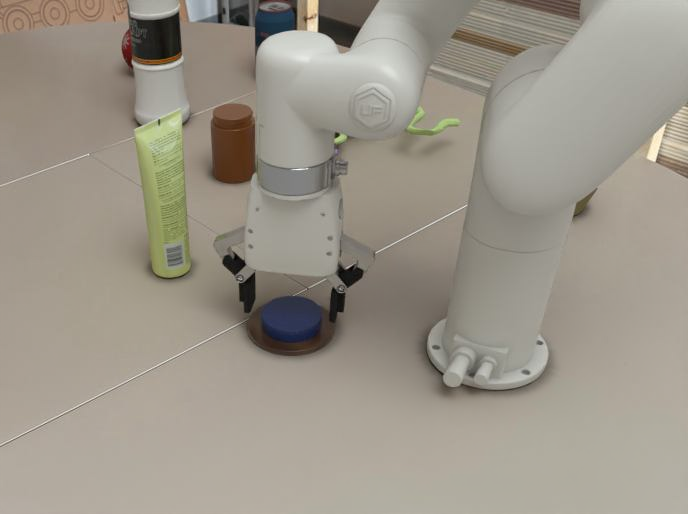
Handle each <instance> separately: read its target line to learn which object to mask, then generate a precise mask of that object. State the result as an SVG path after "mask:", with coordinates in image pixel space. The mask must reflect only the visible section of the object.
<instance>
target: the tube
mask: <svg viewBox="0 0 688 514" xmlns="http://www.w3.org/2000/svg"><path fill="white" fill-rule="evenodd" d="M183 132H184V131H183V124H182V113H181V108H179V109H177V110H175V111H173V112H171V113H169V114H167V115H165V116H163V117H161V118H159V119H156V120H154V121H152V122H150V123H148V124H145V125H143V126H142V125H140V126H139V127H136V128H134V129H133V137H134V143H135V149H136V155H137V161H138V168H139V176H140V181H141V182H140V183H141V189H142V196H143V204H144V212H145V213H144V214H145V219H146V227H147V236H148V244H149V253H150V262H151V269H152V271H153V273H154V274H155V275H156V276H158V277H161V278H167V279H170V278H178V277H181V276H183V275H185V274H186V273H188V272H189V271H190V269H191V266H192V265H191V263H192V262H191V251H190V250H191V249H190V239H189V237H190V236H189V222H188V208H187V207H188V206H187V193H186V192H187V190H186V175H185V174H186V173H185V157H184V155H185V154H184V134H183Z"/></svg>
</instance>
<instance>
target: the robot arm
mask: <svg viewBox="0 0 688 514" xmlns="http://www.w3.org/2000/svg"><path fill="white" fill-rule="evenodd" d="M480 1H481V0H378V1H377V2H376V4H375V6H374V8H373V10H372V11H371V12H370V13H369V15H368V17H367V19H366V20H365V22H364V23H363V25H362V26H361V27H360V30H359V31H358V33H357V35H356V36H355V38H354V40H353V42H352V44H351V46H350V48H349V50H348V51H346V52H343V53H341V52H340V51H339V48H338V46H337V43H336V42H335V40H334V39H332V38H331V36H330V37H329V36H328V35H327V34H324V33H321V32H318V31H314V30H313V31H312V30H305V29H303V30H302V29H299V30H298V29H297V30H296V29H294V31H285V32H281V33H278V34H274V35H272V36H270V37H268V38H267V39H266V40H264V41H263V42H262V44H261V45H260V47H259V48H258V51H257V55H256V71H255V140H256V173H254V174H253V176H252V178H251V179H250V184H249V190H248V195H247V200H246V201H247V202H246V208H245V221H244V225H243V226H240V227H237V228H235V229H232V230H229V231H227V232H224V233H222V234H219V235H217V236H216V237H215V239H214V241H213V243H212V247H213V248H214V250H215V252H216V253H217V256H218V257H219V258H220V259H221V263H222V265H223V267H224V268H226V270H228V271H229V272H230V273H231V274H232V275H233V276H234V280H235V282H237V283H238V300H239V302H240V303H243V313H244V314H250V313H252V310H253V308H254V305H255V302H256V298H257V291H256V290H257V288H256V286H257V285H256V283H257V282H256V272H257V271H259V272H266V273H274V274H283V275H285V274H286V275H295V276H304V277H305V276H306V277H317V278H321V277H322V278H325V279H326V281H327V282H328V283H329V284H330V285H331V286H332V287H331V290H330V297H329V311H328V312H329V321H331V323H335V324H336V322H337V318H338V313H339V314H340V313H342V314H344V312H345V305H346V297H347V296H346V294H347V291H348V288H350V287H352V286H353V285H355V284H357V282H359V281H360V280H363V277H364V275H365V274H366V272H367V271H368V270H369V269H370V267H371V266H372V265H373V264H374V262H375V260H376V251H375V250H374V249H373V248H370V246H367V245H365V244H364V243H361V242H360V241H358V240H357V239H354V238H352V237H351V236H349V235H347V234H346V233H344V198H343V189H342V181H341V178H340V176H348V171H349V161H348V160H342V159H341V158H338V155H337V156H335V149H334V142H335V138H336V133H337V134H339V133H340V134H344V135H347V137H349V138H355V139H359V140H364V141H371V142H378V141H387V140H390V139H392V138H395V137H397V136H399V135H400V134H402V133H403V132H404V131H405V129H406V128H407V127H408V126H409V125H410V124H411V122H412V121H413V119H414V117H415V115H416V113H417V111H418V107H419V106H420V102H421V98H422V95H423V92H424V87H425V82H426V78H427V75H428V72H429V69H430V68H431V67H432V65H433V64H434V62H435V60H436V59H437V57H438V56H439V55H440V53H441V52H442V51H443V49H445V47H446V45H447V44H448V42H449V41H450V39H451V38H452V37H453V36H454V34H455V32H457V30H458V29H459V27H461V25H462V23H463V22H464V21H465V19H466V18H467V17H469V15H470V13H471V12H472V11H473V10H474V8H475V7H476V6H477V5H478V4H479V3H480ZM578 11H579V28H578V29H577V30H576V31H575V33H574V34H573V36H572V37H571V38H570V39H569V40H568V41H567V42H566V44H565V45H562V44H553V43H551V44H550V43H549V44H540V45H536V46H533V47H530V48H528V49H525V50H523V51H521V52H520V53H518V54H516V55H515V56H514V57H512V58H511V59H510V60H508V62H506V63H505V64H504V65H503V66H502V68H501V69H500V70H499V71H498V73H497V74H496V75H495V77H494V79H492V82H491V83H490V86H489V88H488V89H487V93H486V96H485V99H484V103H483V108H482V111H481V112H482V113H481V118H480V119H481V120H480V126H479V134H478V142H477V147H476V153H475V159H474V165H473V172H472V176H471V183H470V188H469V194H468V200H467V206H466V210H465V216H464V219H463V225H462V229H461V230H462V231H461V236H460V241H459V246H458V252H457V258H456V263H455V269H454V274H453V279H452V284H451V290H450V294H449V295H450V296H449V301H448V305H447V312H446V317H444V318H443V319H441V320H439V321H438V322H436V323H435V325H434V326H432V328H431V329H430V331H429V332H428V336H427V340H426V352H427V356H428V358H429V360H430V362H431V363H432V365H433V366H434V367H435V368H436V369H437V370H438V371H439V372H441V373H442V374H443V375H442V380H443V383H444V384H445V385H446V386H447V387H450V388H458V387H460V386H461V384H462V385H465V386H468V387H471V388H476V389H481V390H482V389H483V390H488V391H489V390H491V391H494V390H495V391H502V390H503V391H505V390H512V389H516V388H520V387H524V386H526V385H529V384H531V383H532V382H535V380H537V379H538V378H540V377H541V375H542V374H543V373H544V371H545V369H546V367H547V364H548V360H549V356H550V353H549V346H548V345H547V343H546V341H545V339H544V338H543V336H542V335H541V334H540V332H541V328H542V325H543V321H544V317H545V314H546V310H547V307H548V304H549V300H550V296H551V293H552V289H553V286H554V283H555V279H556V275H557V272H558V268H559V266H560V261H561V258H562V256H563V251H564V248H565V245H566V241H567V238H568V235H569V232H570V228H571V225H572V222H573V219H574V218H573V217H574V215H573V214H574V210H575V207H576V203H577V202H578V201H580V200H582V199H583V198H584V197H586V196H587V195H588V194H590V193H591V192H592V191H594V190H595V189H596V188H597V187H598V188H599V186H601V185H602V184H603V183H604V182H605V181H606V180H607V179H609V178H610V177H611V176H612V175H613V174H614V173H615V172H616V171H617V170H618V169H619V168H620V167H622V165H624V164H625V163H626V162H627V161H628V160H629V159H630V158H632V157H633V155H634V154H636V153H637V151H638V150H640V149H641V148H642V146H644V145H645V144H646V143H647V142H648V141H649V140H650V139H651V138H652V137H653V136H655V134H657V132H659V130H661V129H662V128H663V126H665V125H666V124H667V123H668V122H669V121H670V120H671V119H672V118H673V117H674V116H676V115H677V113H678V112H680V110H682V109H683V108H684V107H685V106H686V105H687V103H688V0H580V4H579V10H578ZM242 243H243V259H242V258H241V257H240V256H239V255H238V254H237V253H236V252H235V250H233V249H232V247H235V246H237V245H240V244H242ZM342 253H344V254H346V255H348V256H349V257H351V258H353V259H356V260H357V261H356V262H355V263H354V264H352V265H350V266H349V267H348V268H346V266H345V265H344V263H342V261H341V260H340V258H341V256H342Z"/></svg>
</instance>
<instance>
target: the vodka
mask: <svg viewBox="0 0 688 514" xmlns="http://www.w3.org/2000/svg"><path fill="white" fill-rule="evenodd" d="M125 2H126V10H127V20H128V29H130V39H131V48H132V57H133V59H132V65H133V69H132V70H133V75H134V94H135V96H134V97H135V98H134V101H135V102H134V107H133V108H134V109H133V110H134V118H135V119H136V122H137V124H139V125H140V126H143V125H145V124H148V123H150V122H152V121H154V120H156V119H159V118H161V117H163V116H165V115H167V114H169V113H171V112H173V111H175V110H177V109H179V108H181V113H182V125H183V124H184V123H186V122H187V121H188V120H189V118H190V115H191V104H190V102H189V98H188V93H187V88H186V82H185V81H186V80H185V73H184V61H185V57H184V55H183V47H182V45H183V44H182V33H181V18H180V17H181V16H180V10H181V3H180V0H125Z"/></svg>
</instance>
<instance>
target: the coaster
mask: <svg viewBox="0 0 688 514" xmlns="http://www.w3.org/2000/svg"><path fill="white" fill-rule="evenodd" d="M266 304H267V303H265V304H262V305H261V306H259V307H258V308H256V309H254V311H253V312H251V315H250V316H249V318H248V321H247V333H248V337H249V338H250V340H251V341H252V342H253V343H254V344H255V345H256V346H257V347H259V348H260V349H261V350H265V351H266V352H269V353H271V354H276V355H279V356H280V355H281V356H302V355H307V354H311V353H314V352H316V351H318V350H321V349H322V348H324V347H326V345H328V344H329V343H330V342H331V341H332V339H333V337H334V335H335V332H336V331H335V330H336V322H335V323H331V321H329V311H328V310H327V309H326V308H325V307H323V306H321V305H320V304H318V305H319V306H320V308H321V310H322V325H321V329H320V331H319V332H318V334H316V335H315V336H314V337H312V338H311V339H308V340H306V341H302V342H294V343H288V342H282V341H278V340H275V339H273V338H271V337H269V336H268V335H267V334H266V333H265V332H264V331H263V329H262V309H263V307H264V306H265V305H266Z"/></svg>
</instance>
